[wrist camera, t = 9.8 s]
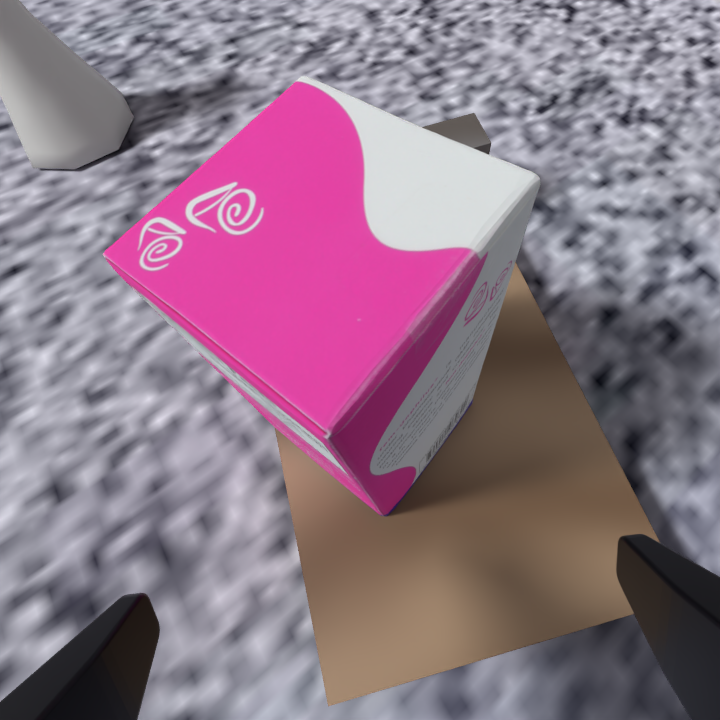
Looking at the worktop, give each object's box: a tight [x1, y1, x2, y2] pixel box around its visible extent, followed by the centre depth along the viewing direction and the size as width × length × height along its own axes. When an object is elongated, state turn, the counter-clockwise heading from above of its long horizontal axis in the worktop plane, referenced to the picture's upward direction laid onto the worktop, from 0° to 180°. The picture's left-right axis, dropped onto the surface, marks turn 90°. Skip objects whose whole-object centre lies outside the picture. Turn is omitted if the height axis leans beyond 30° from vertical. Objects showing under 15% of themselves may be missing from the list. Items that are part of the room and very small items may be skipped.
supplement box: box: [103, 76, 540, 517], centre depth 13 cm, size 6×6×12 cm
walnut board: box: [275, 113, 660, 706], centre depth 18 cm, size 20×12×4 cm, turn 15°
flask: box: [0, 0, 134, 169], centre depth 25 cm, size 7×7×10 cm
